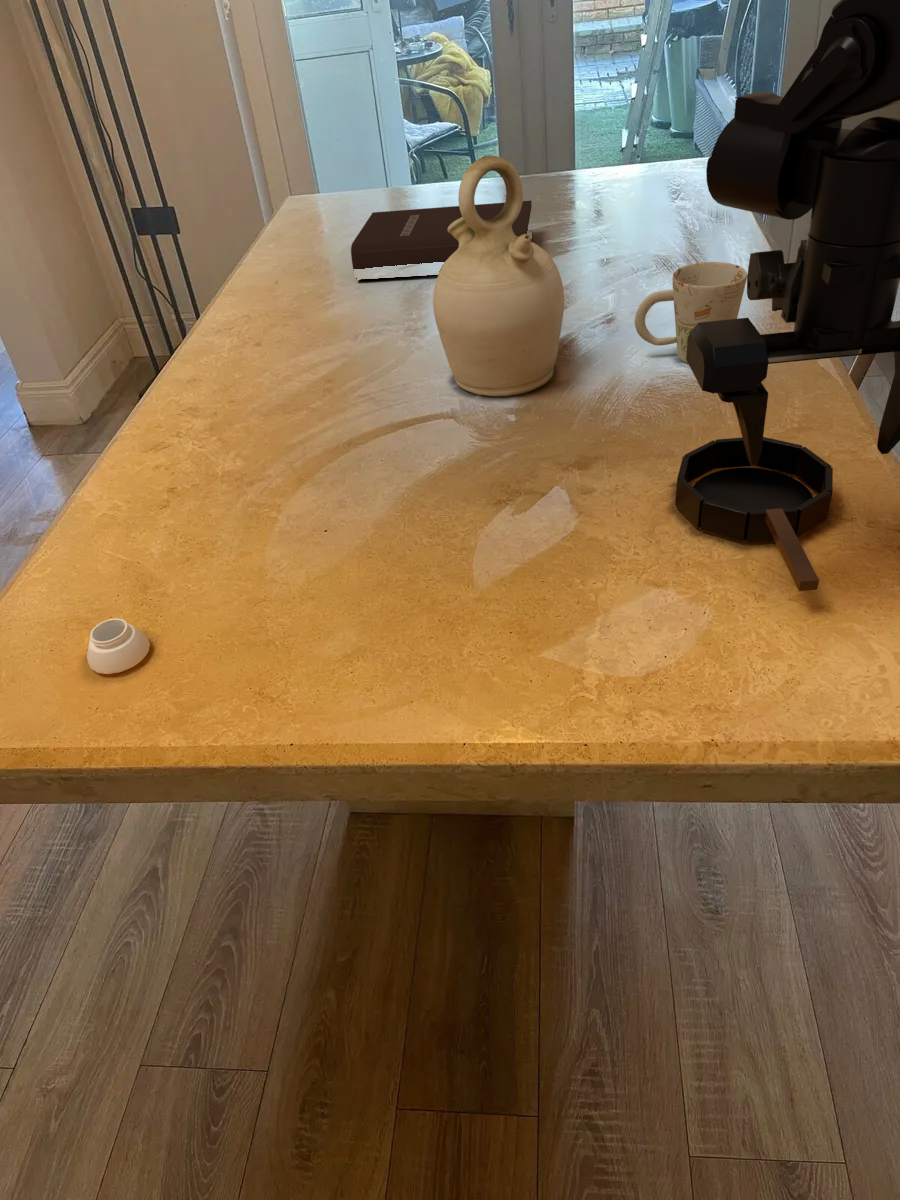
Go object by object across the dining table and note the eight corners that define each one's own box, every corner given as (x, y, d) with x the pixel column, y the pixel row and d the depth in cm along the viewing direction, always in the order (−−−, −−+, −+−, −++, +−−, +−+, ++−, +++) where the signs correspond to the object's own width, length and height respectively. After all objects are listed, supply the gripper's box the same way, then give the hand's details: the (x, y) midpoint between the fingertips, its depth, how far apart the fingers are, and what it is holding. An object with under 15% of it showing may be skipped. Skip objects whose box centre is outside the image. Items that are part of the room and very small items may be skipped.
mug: (745, 366, 101) (755, 282, 95) (638, 375, 102) (642, 293, 96) (729, 339, 108) (737, 258, 101) (629, 348, 109) (631, 268, 102)
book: (355, 284, 139) (349, 247, 135) (377, 246, 153) (372, 212, 150) (526, 274, 134) (525, 235, 131) (532, 236, 149) (531, 200, 145)
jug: (430, 365, 111) (403, 155, 95) (542, 342, 113) (534, 132, 97) (459, 414, 99) (434, 184, 84) (584, 388, 101) (583, 158, 85)
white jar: (142, 628, 74) (85, 652, 72) (131, 602, 72) (72, 626, 70) (157, 660, 70) (97, 686, 69) (146, 634, 69) (84, 659, 67)
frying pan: (663, 472, 85) (665, 441, 83) (804, 461, 84) (809, 429, 82) (713, 621, 67) (717, 586, 65) (893, 609, 66) (903, 574, 64)
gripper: (955, 183, 57) (903, 396, 67) (677, 214, 59) (665, 418, 68) (1044, 230, 49) (970, 466, 58) (715, 265, 50) (695, 490, 60)
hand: (816, 457), depth 62 cm, fingers open, 9 cm apart
